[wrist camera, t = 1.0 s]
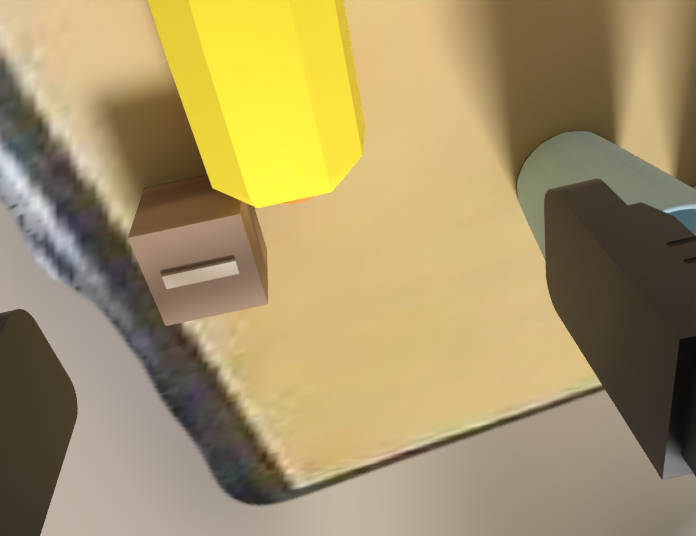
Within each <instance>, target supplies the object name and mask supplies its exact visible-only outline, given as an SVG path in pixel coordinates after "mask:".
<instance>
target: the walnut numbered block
mask: <svg viewBox="0 0 696 536" xmlns="http://www.w3.org/2000/svg"><path fill="white" fill-rule="evenodd" d="M128 240H129V242H130V244H131V246H132V249H133V251H134V253H135V256H136V258H137V260H138V263H139V265H140V267H141V270H142V272H143V274H144V277H145V279H146V281H147V284H148V286H149V288H150V291H151V293H152V295H153V298H154V300H155V302H156V305H157V307H158V309H159V312H160V314H161V316H162V319H163V321H164V323H165V325H166V326H168V325H172V324H177V323H182V322H186V321H191V320H196V319H200V318H205V317H210V316H215V315H219V314H224V313H229V312H233V311H238V310H243V309H247V308H252V307H257V306H262V305H266V304H268V278H267V249H266V246H265V242H264V239H263V235H262V232H261V229H260V225H259V222H258V218H257V215H256V211H255V208H254V206H252V205H250V204H247V203H245V202H243V201H241V200H238V199H236V198H234V197H231V196H229V195H227V194H225V193H222V192H220V191H218V190H216V189H213V188H212V186H211V183H210V180H209V177H208V175H205V176H200V177H195V178H191V179H186V180H181V181H177V182H172V183H167V184H163V185H158V186H153V187H148V188H144V191H143V194H142V197H141V200H140V203H139V206H138V209H137V212H136V215H135V218H134V221H133V224H132V227H131V230H130V233H129V236H128Z"/></svg>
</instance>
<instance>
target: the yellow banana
mask: <svg viewBox="0 0 696 536" xmlns="http://www.w3.org/2000/svg"><path fill="white" fill-rule="evenodd" d="M148 3H149V6H150V9H151V12H152V15H153V18H154V22H155V25H156V28H157V31H158V34H159V37H160V40H161V43H162V47H163V50H164V53H165V55H166V58H167V61H168V64H169V67H170V70H171V72H172V75H173V78H174V81H175V84H176V87H177V89H178V92H179V95H180V98H181V101H182V104H183V106H184V109H185V112H186V115H187V118H188V121H189V123H190V126H191V129H192V132H193V135H194V138H195V140H196V143H197V146H198V149H199V152H200V155H201V157H202V160H203V163H204V166H205V169H206V172H207V174H208V177H209V180H210V183H211V186H212V188H213V189H216V190H218V191H220V192H222V193H225V194H227V195H229V196H231V197H234V198H236V199H238V200H241V201H243V202H245V203H247V204H250V205H252V206H254V207H256V208H260V207H265V206H270V205H274V204H279V203H285V204H296V203H300V202H305V201H307V200H309V199H310V198H312V197H314V196H315V195H320V194H325V193H329V192H332V191H333V190H334V188H335V187H336V186H337V185H338V184H339V182H340V181H341V180H342V179H343V178H344V177H345V175H346V174H347V173H348V172H349V171H350V169H351V168H352V167H353V166H354V165H355V163H356V162H357V161H358V160H359V159H360V158H361V156H362V154H363V143H364V131H365V124H364V118H363V112H362V106H361V101H360V95H359V89H358V83H357V77H356V71H355V66H354V60H353V54H352V48H351V42H350V36H349V31H348V25H347V19H346V13H345V7H344V1H343V0H148Z"/></svg>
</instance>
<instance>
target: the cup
mask: <svg viewBox="0 0 696 536" xmlns="http://www.w3.org/2000/svg"><path fill="white" fill-rule="evenodd" d="M596 178H597V179H601V180H602V181H604V182H605V183H606V184H607V185H608V186H609V187H610V188H611V189H612V190H613V191H614V192H615V193H616V194H617V195H618V196H619V197H620V198H621V199H622V200H623V201H624V202H625V203H626V204H627V205H631V204H636V203H640V202H642V203H644V204H647V205H649V206H652V207H654V208H656V209H659V210H661V211H663V212H666V213H668V214H670V215H673V216H675V217H676V218H677V219H678V220H679V221H680V222H681V223H682V224H683V225H685V226H686V227H687V228H688V229H689V230H690V231H691V232H692V233H693V234H694V235H696V189H694V188H692V187H690V186H688V185H687V184H685V183H683V182H681V181H680V180H678V179H676V178H674V177H672V176H671V175H669V174H667V173H665V172H663V171H662V170H660V169H658V168H656V167H655V166H653V165H651V164H649V163H647V162H646V161H644V160H642V159H640V158H639V157H637V156H635V155H633V154H631V153H630V152H628V151H626V150H624V149H623V148H621V147H619V146H617V145H615V144H614V143H612V142H610V141H608V140H606V139H604V138H602V137H600V136H598V135H596V134H594V133H592V132H588V131H572V132H565V133H562V134H559V135H556V136H554V137H552V138H551V139H549V140H547V141H545V142H544V143H542V144H541V145H540V146H538V147H537V148H536V149H535V150H534V151H533V152H532V154H531V155H530V156H529V157H528V158H527V160H526V161H525V163H524V164H523V167H522V169H521V172H520V175H519V178H518V181H517V192H518V200H519V203H520V206H521V208H522V211H523V213H524V215H525V217H526V219H527V222H528V224H529V226H530V228H531V230H532V233H533V235H534V237H535V239H536V241H537V243H538V246H539V248H540V250H541V252H542V254H543V256H544V258H545V224H544V198H545V194H546V192H547V190H549V189H553V188H557V187H561V186H566V185H570V184H574V183H579V182H583V181H588V180H592V179H596ZM545 261H546V259H545Z"/></svg>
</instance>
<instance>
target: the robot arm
mask: <svg viewBox="0 0 696 536" xmlns="http://www.w3.org/2000/svg"><path fill="white" fill-rule="evenodd" d="M544 224H545V259H546V279H547V285H548V290H549V294H550V297H551V300H552V303H553V305H554V308H555V310H556V312H557V314H558V315H559V317H560V318H561V320H562V322H563V323H564V325H565V326H566V328H567V330H568V331H569V333H570V334H571V336H572V337H573V339H574V341H575V342H576V344H577V345H578V347H579V349H580V350H581V352H582V353H583V355H584V357H585V358H586V360H587V361H588V363H589V364H590V366H591V368H592V369H593V371H594V372H595V374H596V376H597V377H598V379H599V380H600V382H601V384H602V385H603V387H604V388H605V390H606V391H607V393H608V395H609V396H610V398H611V399H612V401H613V402H614V404H615V406H616V407H617V409H618V411H619V412H620V414H621V415H622V417H623V418H624V420H625V422H626V423H627V425H628V426H629V428H630V430H631V431H632V433H633V434H634V436H635V437H636V439H637V441H638V442H639V444H640V445H641V447H642V449H643V450H644V452H645V453H646V455H647V456H648V458H649V460H650V461H651V463H652V464H653V466H654V468H655V469H656V471H657V472H658V474H659V476H660V477H661V479H662V480H665V479H670V478H674V477H679V476H683V475H688V474H692V473H694V475H695V476H696V235H694V234H693V233H692V232H691V231H690V230H689V229H688V228H687V227H686V226H685V225H683V224H682V223H681V222H680V221H679V220H678V219H677V218H676V217H675V216H673V215H670V214H668V213H666V212H663V211H661V210H659V209H656V208H654V207H652V206H649V205H647V204H644V203H642V202H640V203H636V204H631V205H627V204H626V203H625V202H624V201H623V200H622V199H621V198H620V197H619V196H618V195H617V194H616V193H615V192H614V191H613V190H612V189H611V188H610V187H609V186H608V185H607V184H606V183H605V182H604V181H602V180H601V179H597V178H596V179H592V180H588V181H583V182H579V183H574V184H570V185H566V186H561V187H557V188H553V189H549V190H547V192H546V194H545V198H544ZM76 419H77V397H76V393H75V389H74V386H73V384H72V382H71V380H70V378H69V376H68V375H67V373H66V371H65V369H64V368H63V366H62V365H61V363H60V361H59V359H58V358H57V357H56V354H55V353H54V351H53V349H52V348H51V346H50V345H49V343H48V341H47V339H46V338H45V336H44V335H43V333H42V331H41V329H40V328H39V326H38V324H37V323H36V321H35V320H34V318H33V317H32V316H31V315H30V314H29V313H28V312H27V311H25V310H22V309H17V310H13V311H8V312H4V313H0V536H40V534H41V530H42V528H43V525H44V521H45V518H46V515H47V512H48V509H49V505H50V502H51V499H52V496H53V493H54V489H55V486H56V483H57V480H58V477H59V474H60V470H61V467H62V464H63V461H64V458H65V454H66V451H67V448H68V445H69V442H70V439H71V435H72V432H73V429H74V426H75V422H76Z"/></svg>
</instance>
